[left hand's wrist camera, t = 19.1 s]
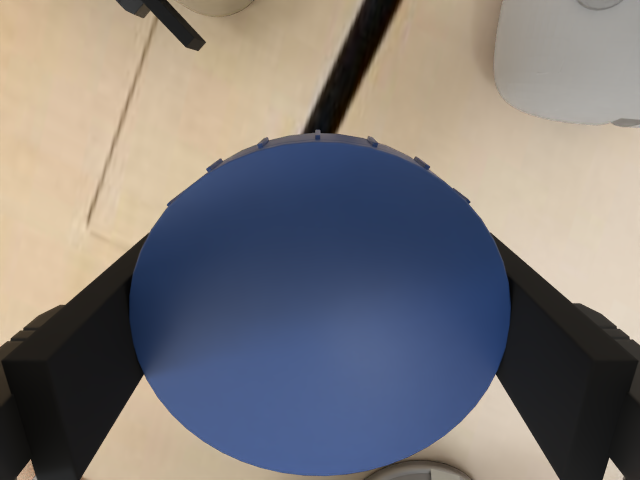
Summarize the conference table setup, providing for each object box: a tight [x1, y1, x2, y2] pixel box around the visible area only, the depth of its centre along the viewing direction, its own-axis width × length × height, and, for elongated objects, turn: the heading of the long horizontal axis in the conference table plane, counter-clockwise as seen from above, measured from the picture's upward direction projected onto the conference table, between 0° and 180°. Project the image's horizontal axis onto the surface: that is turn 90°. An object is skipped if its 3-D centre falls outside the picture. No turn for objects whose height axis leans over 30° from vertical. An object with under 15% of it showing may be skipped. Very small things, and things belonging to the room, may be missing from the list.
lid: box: [129, 130, 511, 476], centre depth 11 cm, size 9×9×2 cm
